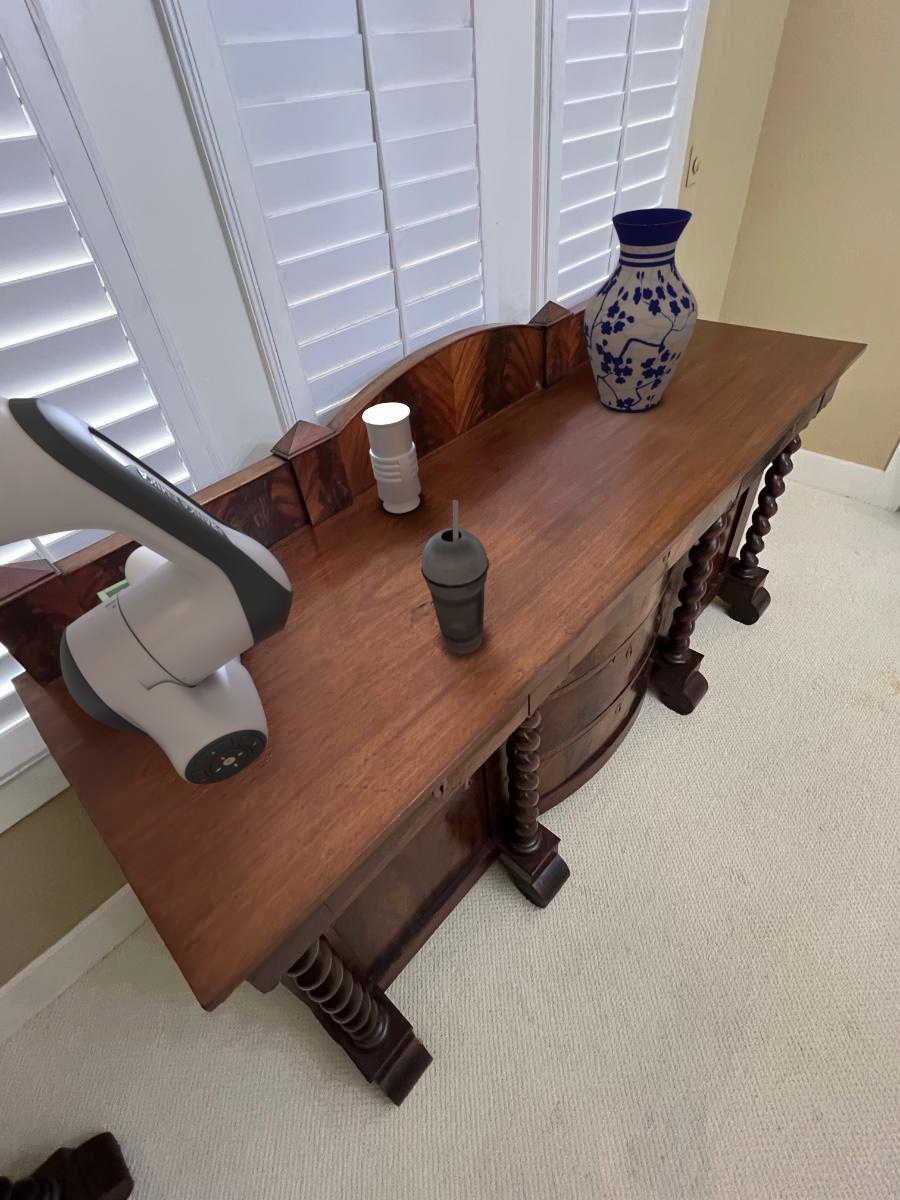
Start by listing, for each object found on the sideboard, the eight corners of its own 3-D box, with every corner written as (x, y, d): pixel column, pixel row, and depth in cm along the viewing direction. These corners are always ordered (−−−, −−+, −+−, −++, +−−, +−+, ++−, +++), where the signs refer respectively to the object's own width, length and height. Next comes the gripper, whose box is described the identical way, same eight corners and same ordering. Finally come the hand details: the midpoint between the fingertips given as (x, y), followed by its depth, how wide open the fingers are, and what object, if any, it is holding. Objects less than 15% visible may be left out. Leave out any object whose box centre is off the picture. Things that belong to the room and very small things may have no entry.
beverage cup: (464, 609, 73) (449, 469, 60) (506, 638, 69) (500, 494, 56) (420, 641, 70) (394, 500, 57) (462, 673, 66) (444, 528, 52)
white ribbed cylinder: (393, 520, 89) (375, 429, 79) (372, 501, 94) (353, 412, 84) (431, 504, 92) (419, 413, 82) (409, 486, 96) (395, 398, 86)
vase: (583, 379, 121) (595, 207, 101) (681, 380, 116) (713, 200, 96) (573, 421, 108) (583, 233, 87) (682, 424, 103) (720, 226, 83)
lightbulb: (148, 623, 72) (104, 554, 65) (193, 595, 76) (156, 526, 68) (173, 646, 69) (130, 575, 62) (219, 615, 72) (183, 544, 65)
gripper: (274, 585, 61) (237, 525, 70) (66, 674, 54) (55, 594, 63) (291, 627, 65) (254, 565, 74) (99, 714, 58) (85, 634, 68)
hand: (161, 579), depth 69 cm, fingers closed on lightbulb, 6 cm apart
